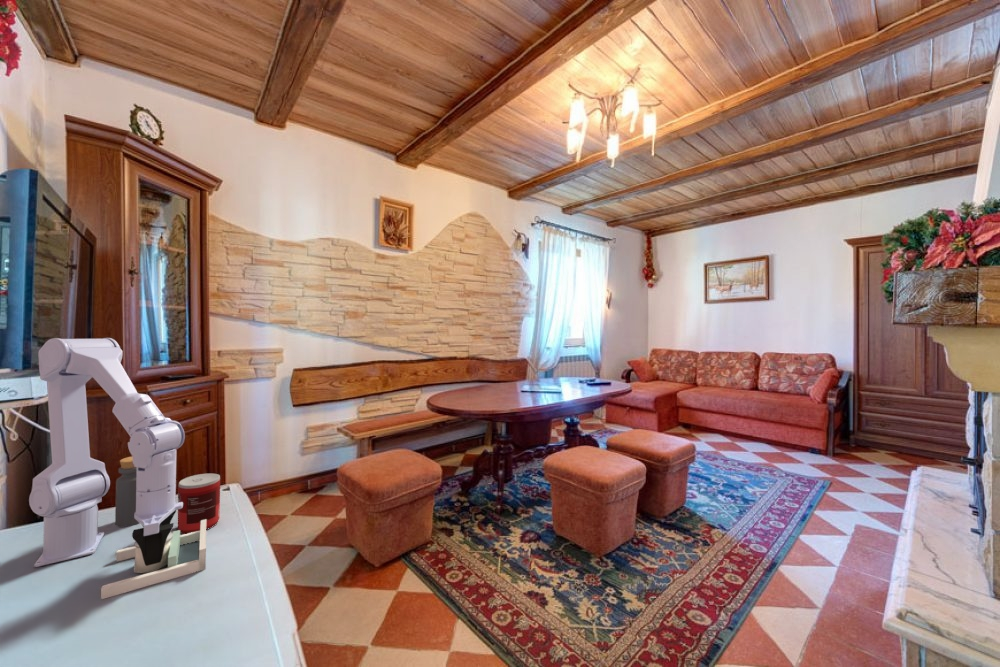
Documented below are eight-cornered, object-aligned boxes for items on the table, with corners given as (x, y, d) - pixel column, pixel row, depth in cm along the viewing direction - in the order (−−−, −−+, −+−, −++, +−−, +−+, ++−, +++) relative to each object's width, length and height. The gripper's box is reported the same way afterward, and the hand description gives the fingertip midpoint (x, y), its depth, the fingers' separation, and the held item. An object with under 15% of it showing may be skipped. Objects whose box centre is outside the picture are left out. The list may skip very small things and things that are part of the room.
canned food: (199, 516, 92) (200, 472, 92) (228, 519, 91) (228, 474, 91) (167, 532, 85) (168, 484, 85) (198, 536, 84) (199, 486, 84)
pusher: (172, 546, 79) (172, 531, 79) (180, 544, 80) (180, 529, 80) (167, 574, 70) (168, 557, 70) (176, 572, 71) (176, 555, 71)
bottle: (127, 528, 86) (129, 463, 86) (108, 525, 88) (109, 461, 88) (155, 516, 92) (156, 455, 92) (137, 513, 93) (138, 453, 93)
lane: (117, 559, 75) (117, 539, 75) (206, 537, 83) (206, 519, 83) (100, 599, 64) (101, 576, 64) (205, 569, 72) (205, 548, 72)
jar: (134, 563, 73) (137, 535, 73) (171, 555, 76) (173, 529, 77) (130, 576, 69) (132, 547, 69) (169, 567, 72) (171, 539, 72)
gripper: (181, 494, 70) (179, 567, 70) (185, 470, 81) (184, 533, 81) (128, 504, 65) (126, 581, 65) (140, 477, 77) (139, 543, 77)
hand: (155, 555), depth 73 cm, fingers closed on jar, 5 cm apart
